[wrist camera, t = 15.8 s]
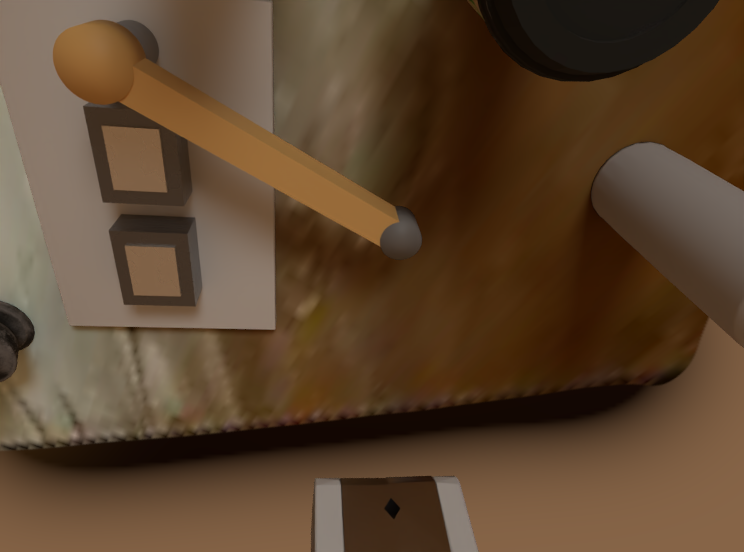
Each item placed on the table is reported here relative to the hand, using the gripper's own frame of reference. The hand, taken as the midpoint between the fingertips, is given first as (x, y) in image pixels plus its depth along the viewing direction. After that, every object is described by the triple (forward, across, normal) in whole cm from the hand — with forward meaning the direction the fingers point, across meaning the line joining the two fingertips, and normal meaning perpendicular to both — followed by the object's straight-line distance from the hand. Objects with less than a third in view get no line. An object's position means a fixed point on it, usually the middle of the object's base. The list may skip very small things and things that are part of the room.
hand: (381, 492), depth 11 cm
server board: (+28, +12, +6) cm, 31 cm away
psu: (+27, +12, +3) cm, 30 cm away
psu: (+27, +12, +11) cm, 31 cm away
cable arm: (+23, +4, +1) cm, 23 cm away
